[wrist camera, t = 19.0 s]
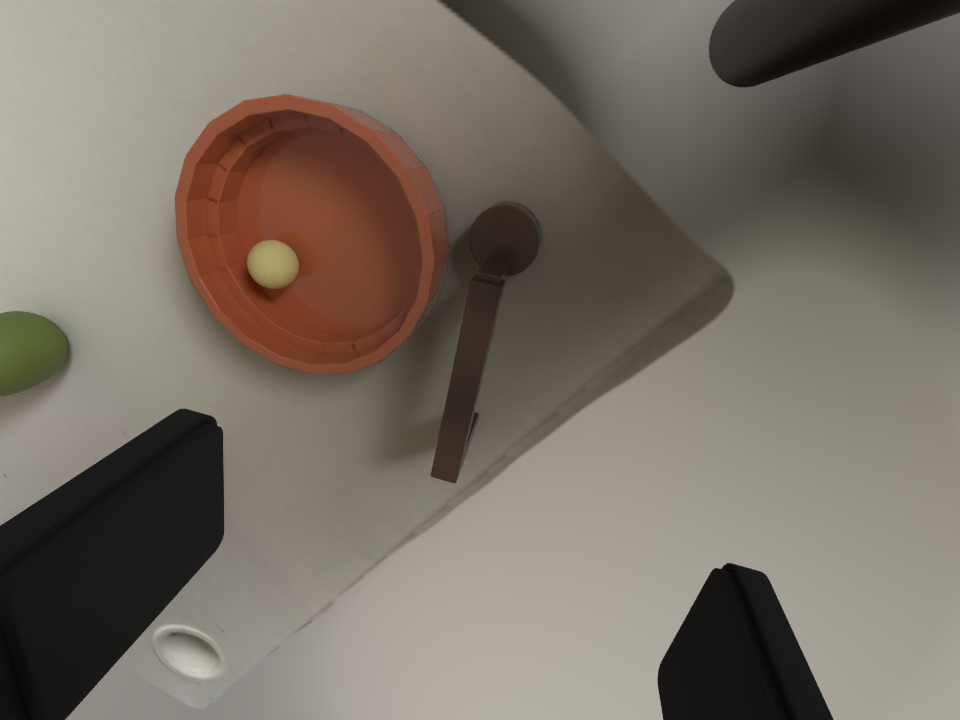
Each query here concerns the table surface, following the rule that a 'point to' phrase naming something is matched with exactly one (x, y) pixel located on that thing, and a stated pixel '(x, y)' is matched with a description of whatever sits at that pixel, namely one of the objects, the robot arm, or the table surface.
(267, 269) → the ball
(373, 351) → the bowl
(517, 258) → the ladle
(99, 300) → the table surface
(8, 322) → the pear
